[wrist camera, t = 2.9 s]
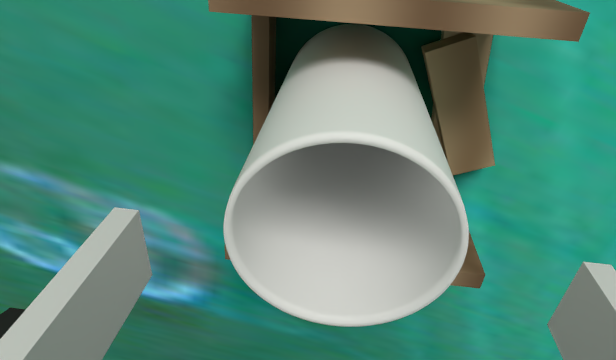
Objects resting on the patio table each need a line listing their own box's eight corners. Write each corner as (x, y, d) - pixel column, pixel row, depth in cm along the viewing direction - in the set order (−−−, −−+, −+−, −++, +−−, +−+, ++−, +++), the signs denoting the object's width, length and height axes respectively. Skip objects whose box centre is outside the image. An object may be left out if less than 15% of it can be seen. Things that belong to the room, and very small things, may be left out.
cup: (285, 136, 30) (226, 312, 16) (291, 17, 25) (216, 120, 12) (399, 149, 29) (435, 340, 16) (425, 30, 25) (507, 152, 11)
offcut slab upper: (446, 164, 29) (451, 175, 27) (421, 46, 24) (424, 52, 23) (488, 154, 28) (494, 165, 27) (469, 30, 24) (475, 36, 23)
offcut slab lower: (425, 153, 30) (428, 162, 29) (440, 24, 25) (444, 29, 24) (465, 153, 30) (469, 163, 28) (487, 22, 25) (494, 27, 24)
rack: (261, 169, 31) (225, 258, 23) (260, -37, 24) (207, -17, 15) (445, 188, 30) (479, 288, 22) (504, -19, 23) (589, 12, 15)
